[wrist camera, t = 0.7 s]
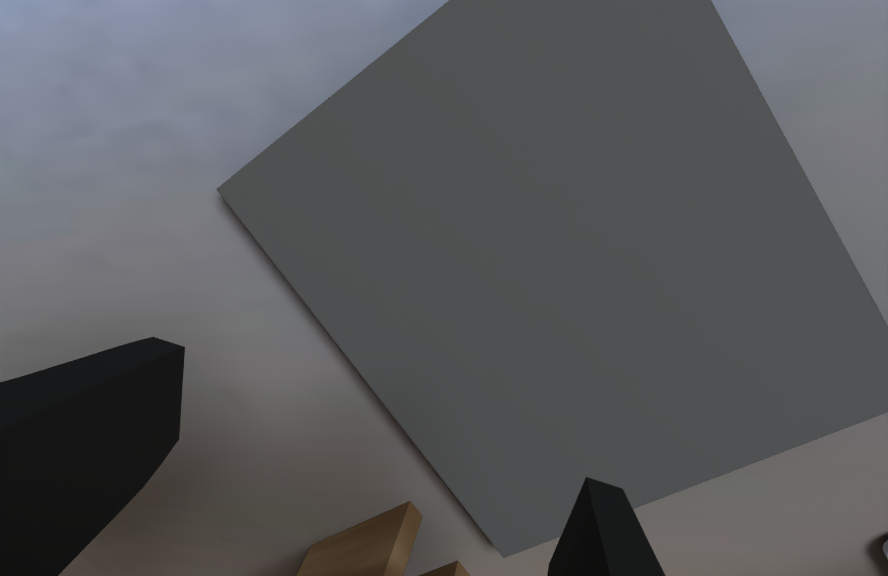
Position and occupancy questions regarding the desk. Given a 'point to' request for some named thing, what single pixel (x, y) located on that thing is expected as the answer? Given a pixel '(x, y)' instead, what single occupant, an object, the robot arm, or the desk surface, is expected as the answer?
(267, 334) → the desk surface
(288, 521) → the desk surface
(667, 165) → the charcoal mat
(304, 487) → the desk surface
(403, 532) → the oak stool
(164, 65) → the desk surface
